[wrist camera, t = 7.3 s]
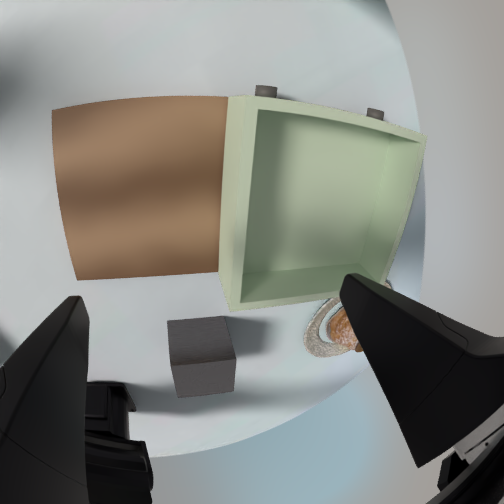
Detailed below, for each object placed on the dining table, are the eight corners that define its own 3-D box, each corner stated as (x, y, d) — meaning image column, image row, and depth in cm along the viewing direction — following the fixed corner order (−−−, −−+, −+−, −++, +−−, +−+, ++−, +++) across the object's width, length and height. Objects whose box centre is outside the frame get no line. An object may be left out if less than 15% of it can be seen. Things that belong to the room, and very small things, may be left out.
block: (222, 350, 26) (233, 391, 22) (173, 355, 25) (178, 397, 21) (223, 315, 24) (236, 358, 20) (167, 319, 22) (170, 365, 18)
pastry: (370, 253, 26) (398, 279, 22) (396, 305, 32) (417, 327, 28) (280, 328, 27) (296, 362, 24) (327, 361, 34) (342, 387, 30)
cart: (353, 269, 23) (378, 296, 20) (218, 283, 20) (229, 321, 17) (390, 115, 17) (429, 124, 13) (229, 83, 13) (247, 78, 10)
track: (359, 253, 24) (365, 259, 24) (80, 272, 18) (77, 280, 17) (389, 125, 18) (397, 127, 18) (58, 109, 12) (51, 110, 11)
